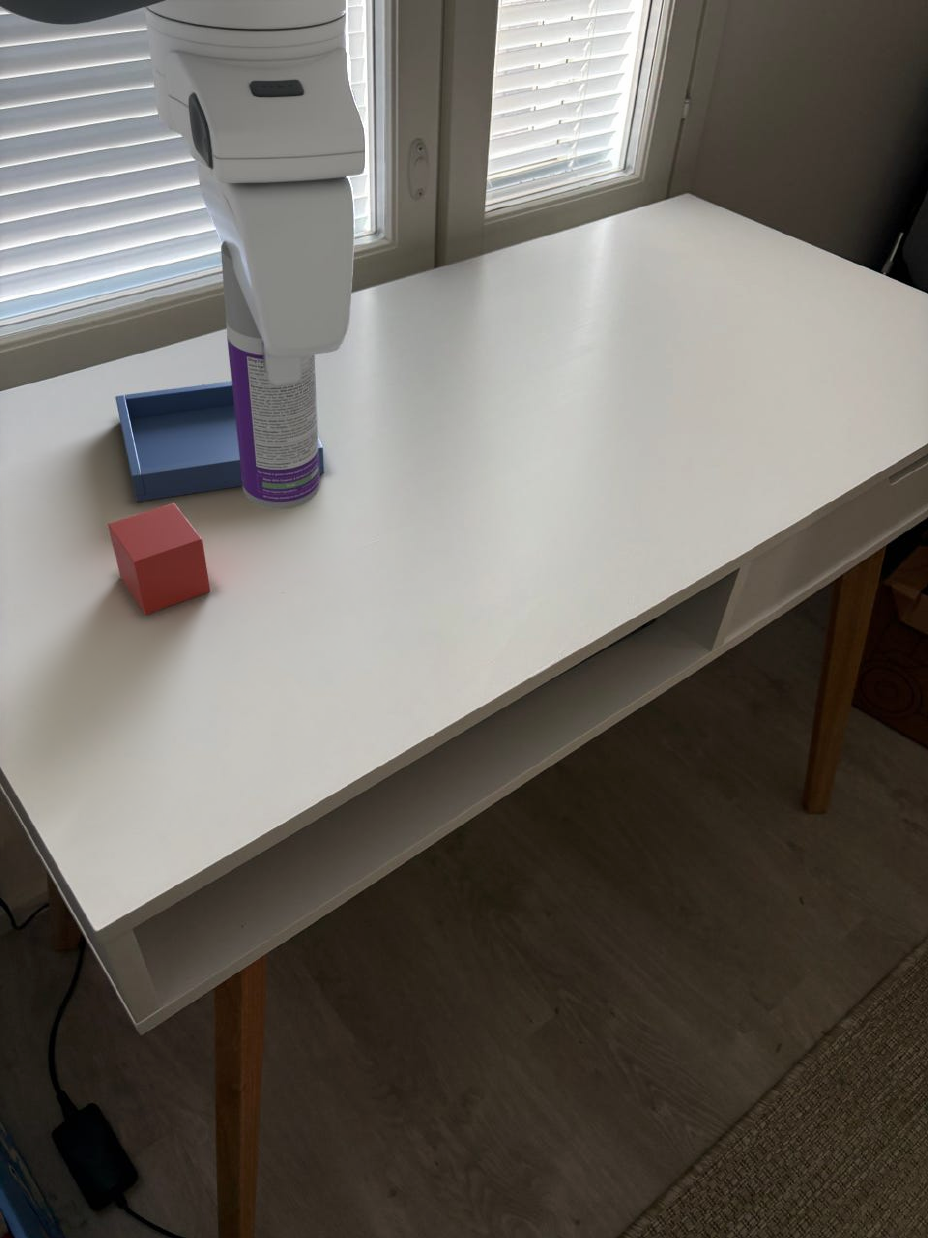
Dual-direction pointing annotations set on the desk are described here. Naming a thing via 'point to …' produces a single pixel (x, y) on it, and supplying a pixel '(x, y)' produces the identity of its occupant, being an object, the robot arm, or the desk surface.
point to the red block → (159, 558)
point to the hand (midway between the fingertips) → (271, 351)
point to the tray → (182, 440)
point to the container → (269, 412)
